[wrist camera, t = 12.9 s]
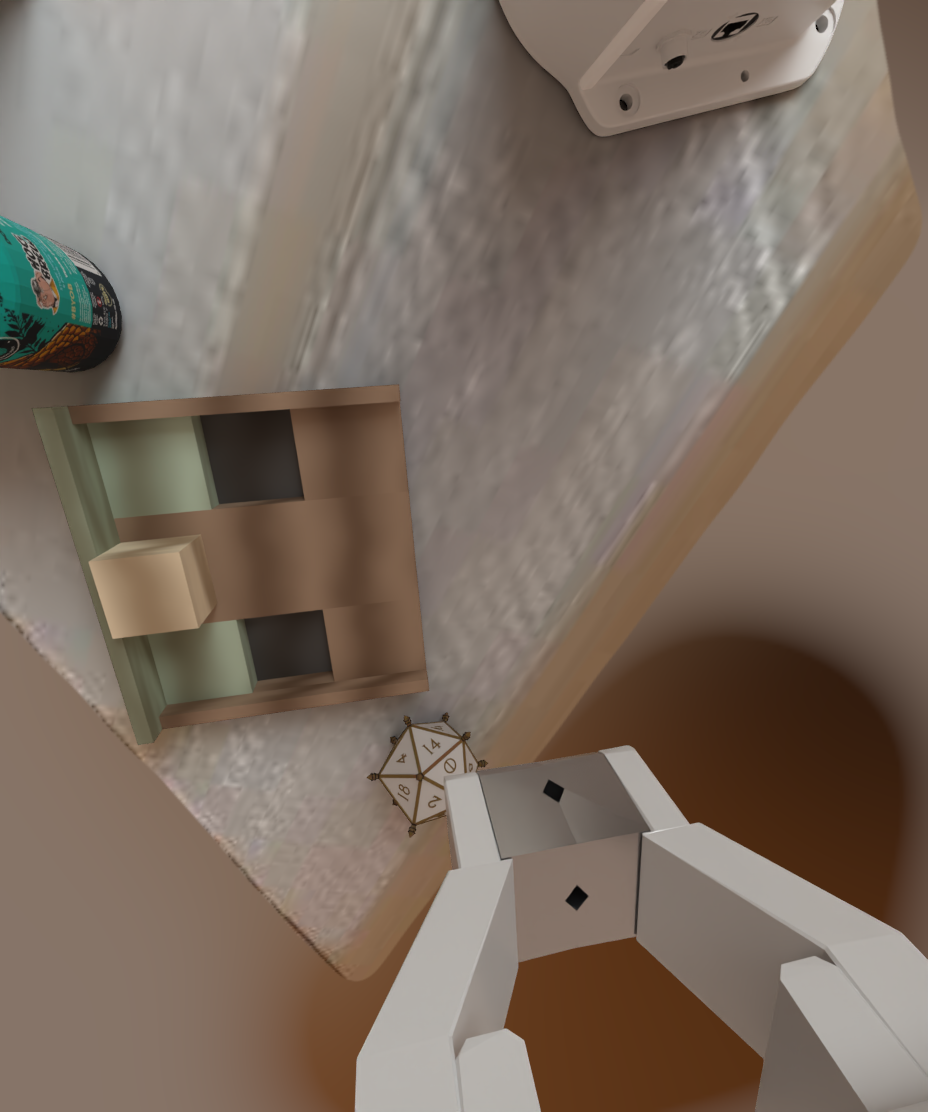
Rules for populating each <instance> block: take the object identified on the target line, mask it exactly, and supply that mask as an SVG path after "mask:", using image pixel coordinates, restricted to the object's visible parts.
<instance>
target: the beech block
mask: <svg viewBox="0 0 928 1112" xmlns="http://www.w3.org/2000/svg"><path fill="white" fill-rule="evenodd" d="M89 566H90V569H91V572H92V575H93V578H94V581H95V585H96V588H97V591H98V594H99V597H100V600H101V604H102V607H103V610H104V613H105V616H106V619H107V623H108V626H109V629H110V632H111V635H112V638H113V639H116V638H124V637H132V636H140V635H148V634H156V633H164V632H172V631H180V630H188V629H196V628H199V627H200V626H201V624H202V623H203V622H204V620H205V619H206V618H207V616H208V615H209V614H210V613H211V611H212V610H213V609H214V607H215V606H216V605H217V599H216V595H215V591H214V587H213V583H212V578H211V574H210V570H209V566H208V562H207V557H206V553H205V549H204V545H203V541H202V537H201V535H191V536H182V537H172V538H162V539H153V540H143V541H133V542H124V543H120V544H118V545H116V546H114V547H113V548H111V549H109V550H108V551H106V552H104V553H102V554H101V555H99V556H97V557H96V558H94V559H92V560H91V561H89Z"/></svg>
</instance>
